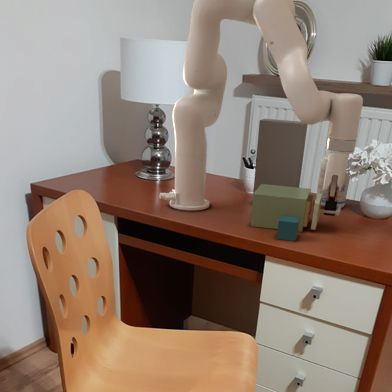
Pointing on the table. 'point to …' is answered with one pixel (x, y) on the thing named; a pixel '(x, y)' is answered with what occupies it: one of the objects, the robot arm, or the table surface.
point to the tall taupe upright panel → (279, 153)
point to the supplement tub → (341, 194)
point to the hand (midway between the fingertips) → (329, 214)
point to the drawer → (316, 210)
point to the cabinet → (278, 205)
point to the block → (288, 228)
